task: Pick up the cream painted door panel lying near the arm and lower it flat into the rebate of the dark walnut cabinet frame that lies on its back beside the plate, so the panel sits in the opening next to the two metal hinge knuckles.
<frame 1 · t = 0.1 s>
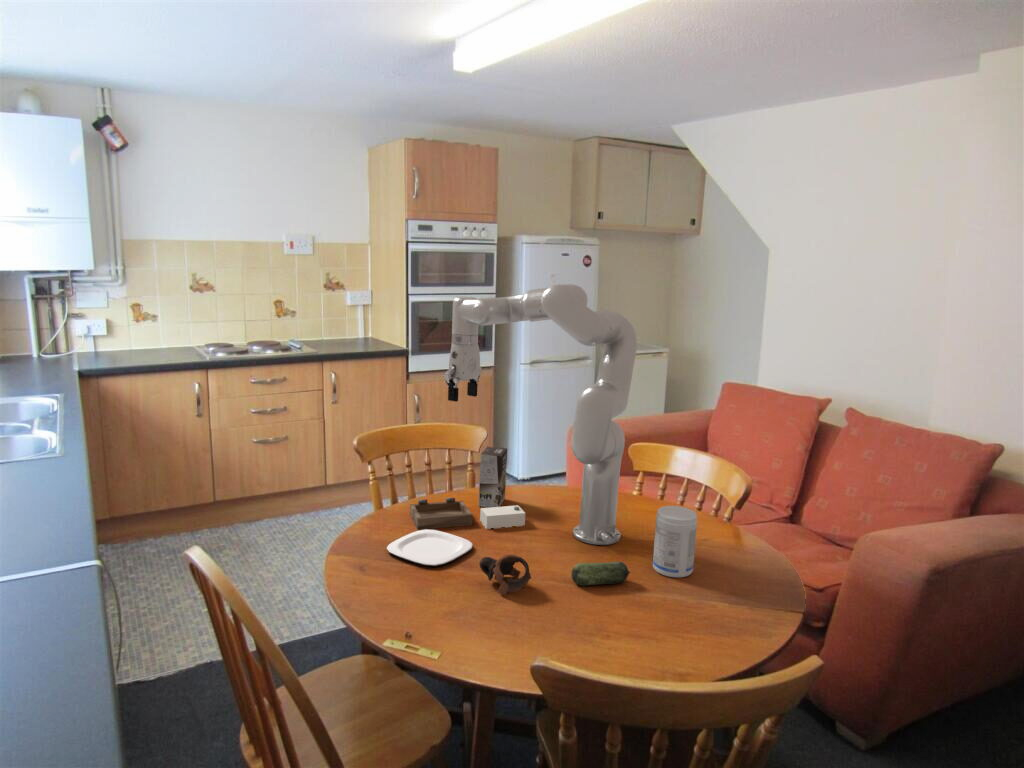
hand: (462, 398, 201), 31 cm above the table, tool pointing down, fingers open, 9 cm apart
coffee box: (492, 503, 205), on the table
cabinet frame: (440, 519, 190), on the table
supplement tub: (672, 571, 166), on the table
vegetable: (600, 584, 157), on the table
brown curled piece: (504, 586, 154), on the table
door panel: (502, 524, 190), on the table
plate: (430, 552, 170), on the table
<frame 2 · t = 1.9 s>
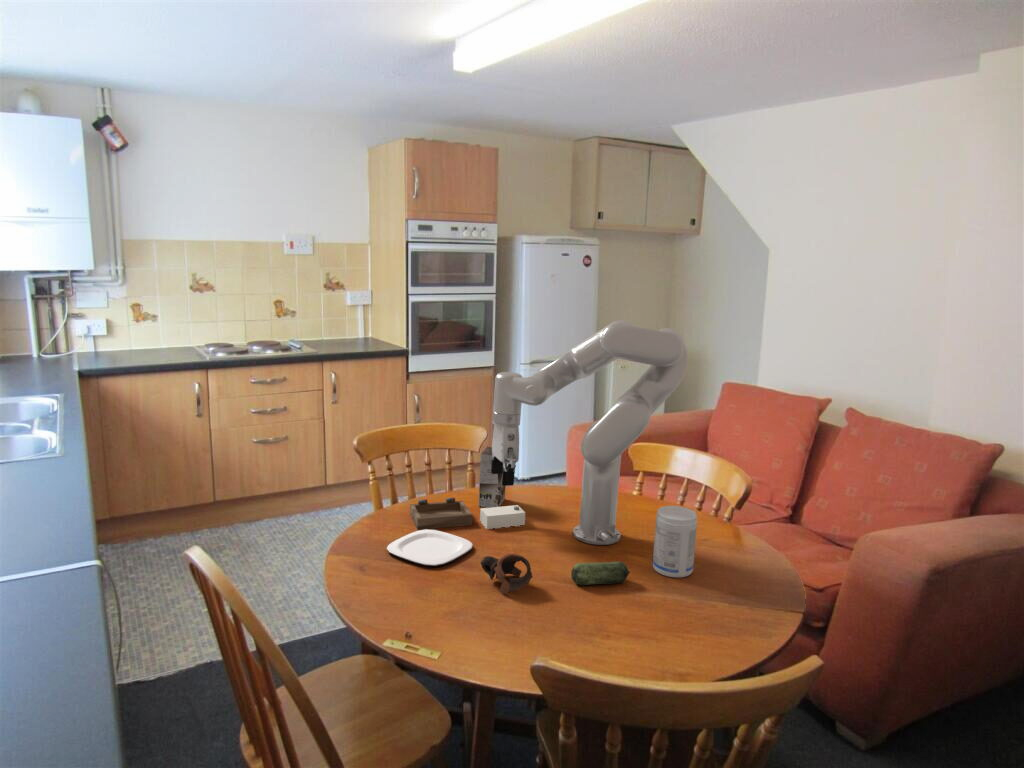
hand: (502, 479, 188), 13 cm above the table, tool pointing down, fingers open, 9 cm apart
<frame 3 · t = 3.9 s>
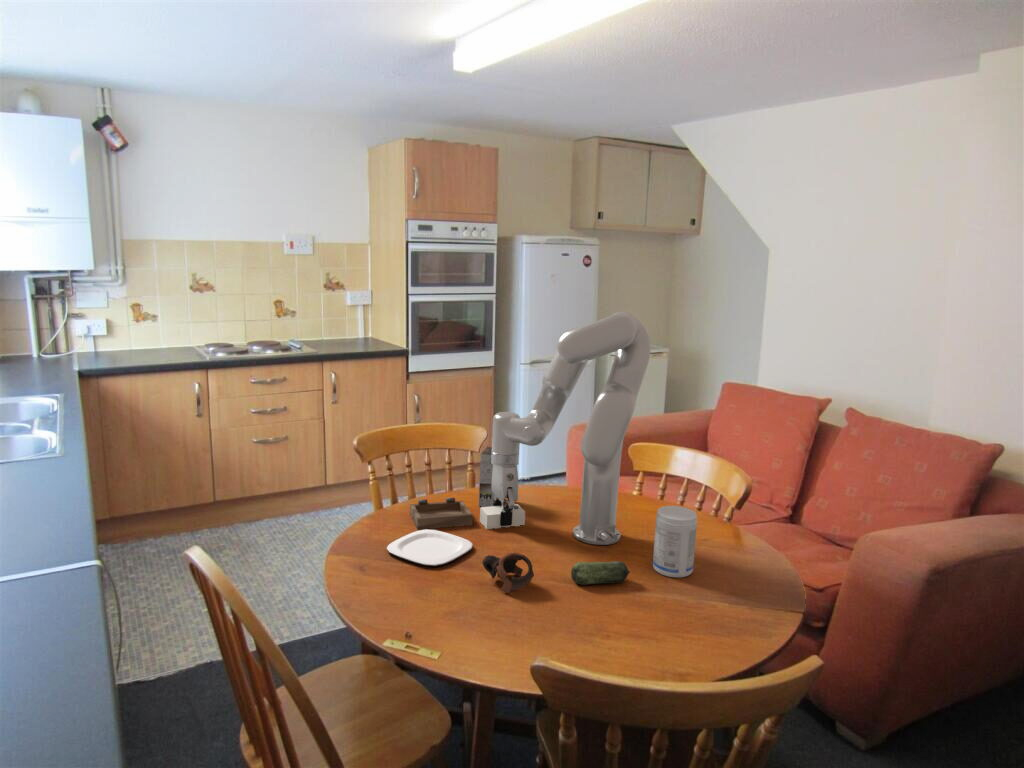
hand: (502, 520, 190), 1 cm above the table, tool pointing down, fingers closed on door panel, 6 cm apart
door panel: (502, 523, 190), on the table, touching gripper
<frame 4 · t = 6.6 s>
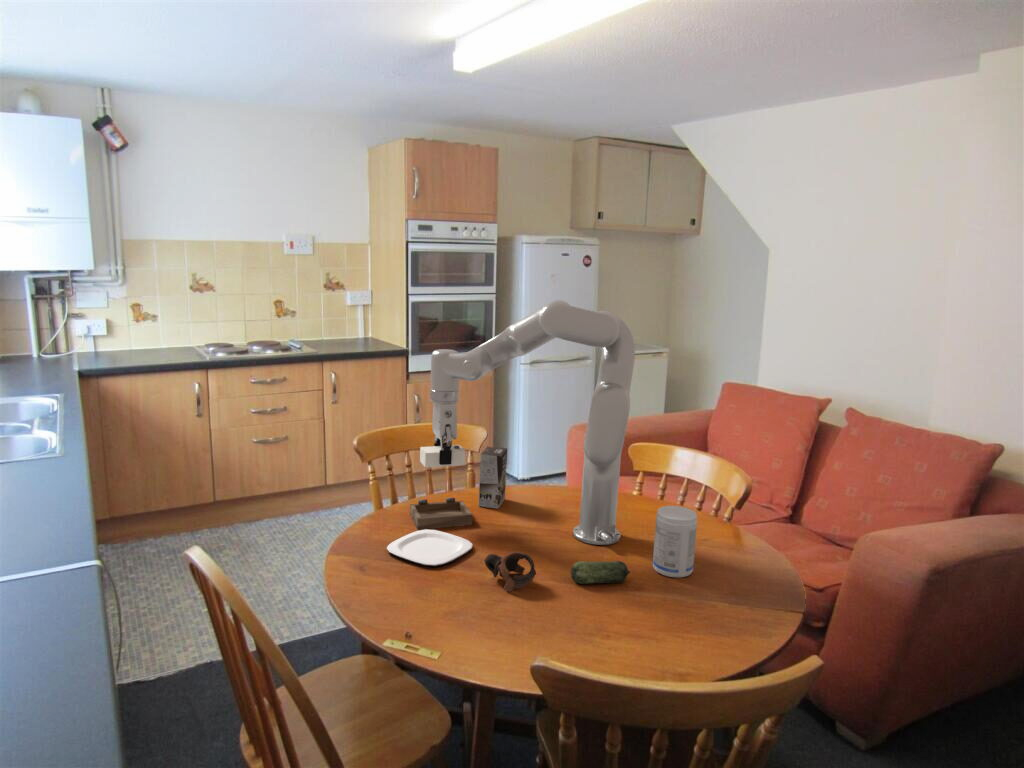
hand: (442, 460, 187), 17 cm above the table, tool pointing down, fingers closed on door panel, 6 cm apart
door panel: (442, 463, 187), point 16 cm above the table, touching gripper
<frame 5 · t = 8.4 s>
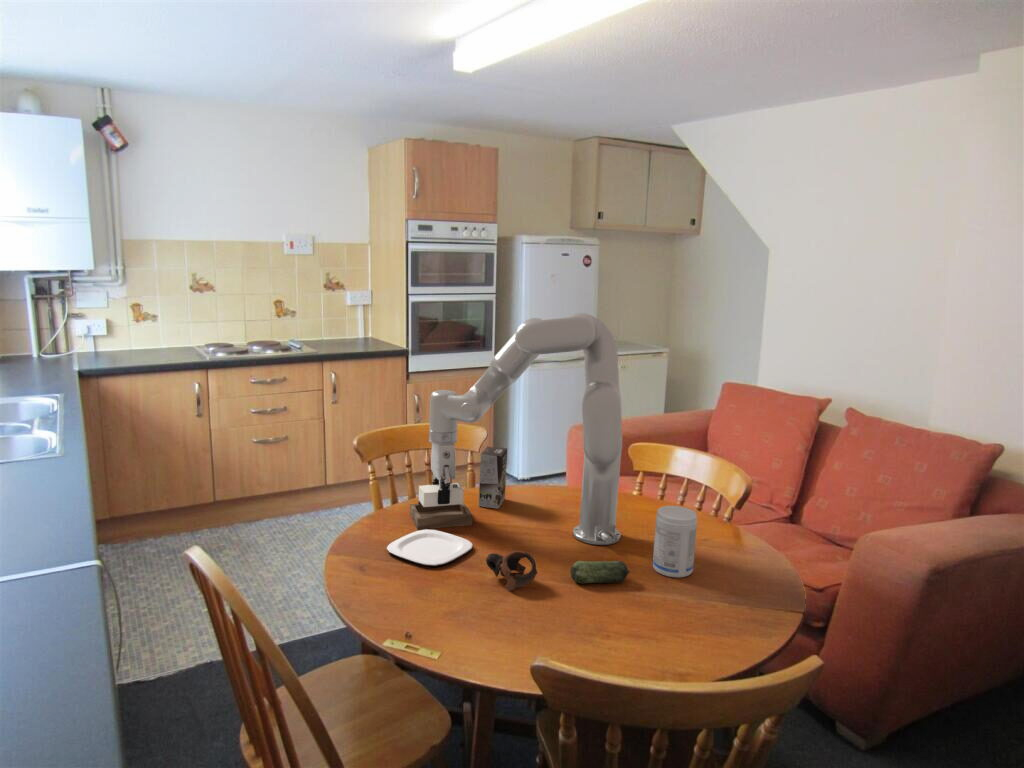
hand: (440, 498, 189), 6 cm above the table, tool pointing down, fingers closed on door panel, 6 cm apart
door panel: (440, 501, 189), point 5 cm above the table, touching gripper
when the fingers open (4 cm above the table, at t = 9.8 s): door panel drops 2 cm, resting on cabinet frame.
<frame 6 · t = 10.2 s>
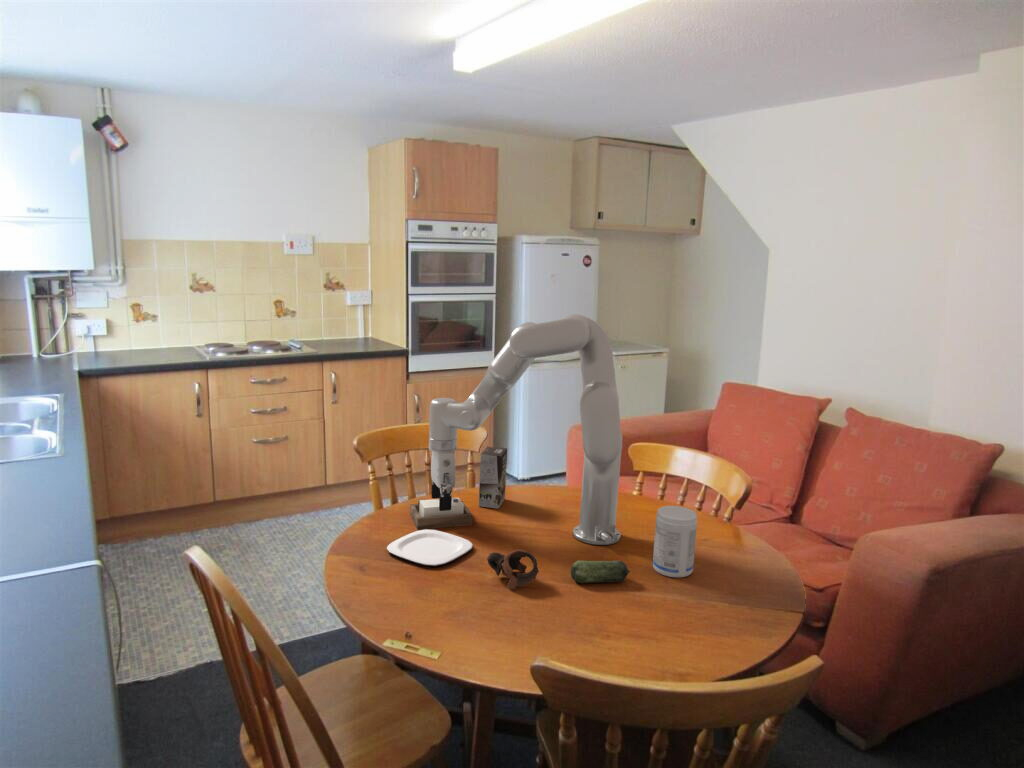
hand: (441, 503, 189), 5 cm above the table, tool pointing down, fingers open, 9 cm apart
door panel: (441, 516, 190), point 1 cm above the table, touching cabinet frame
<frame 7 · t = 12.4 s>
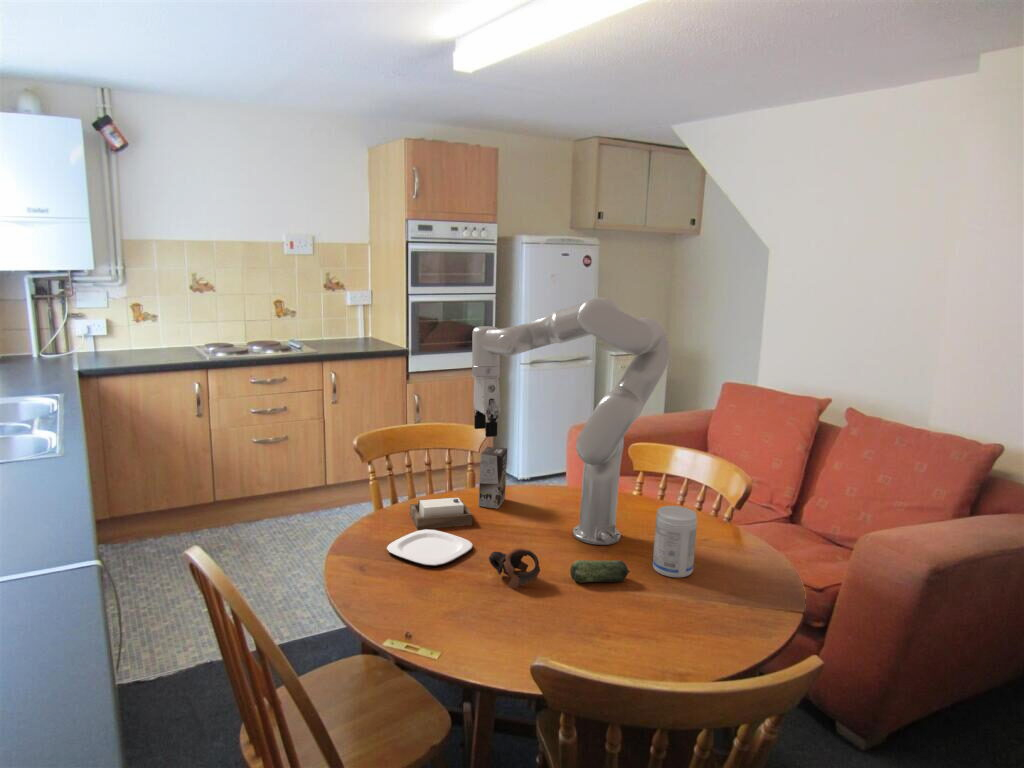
hand: (485, 432, 192), 24 cm above the table, tool pointing down, fingers open, 9 cm apart
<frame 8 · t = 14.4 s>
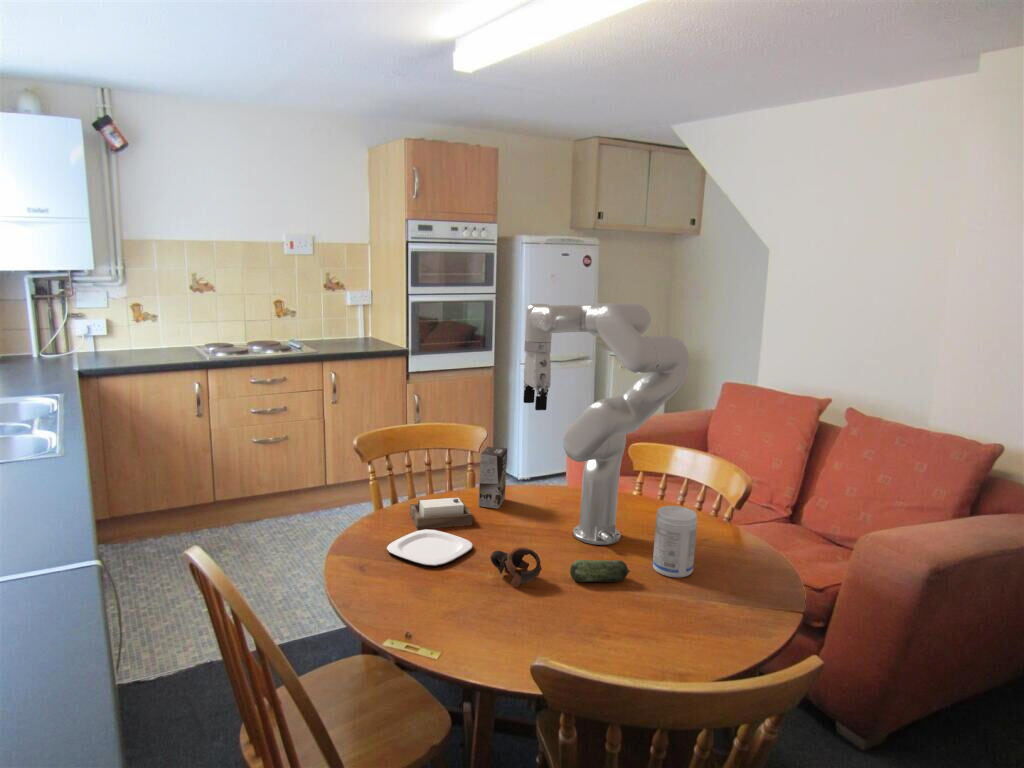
hand: (534, 406, 199), 30 cm above the table, tool pointing down, fingers open, 9 cm apart
at the end: door panel 0.1 cm off-centre on the cabinet frame, point 1.0 cm above the cabinet frame's base; door panel tilted 0°; the gripper is holding nothing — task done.
